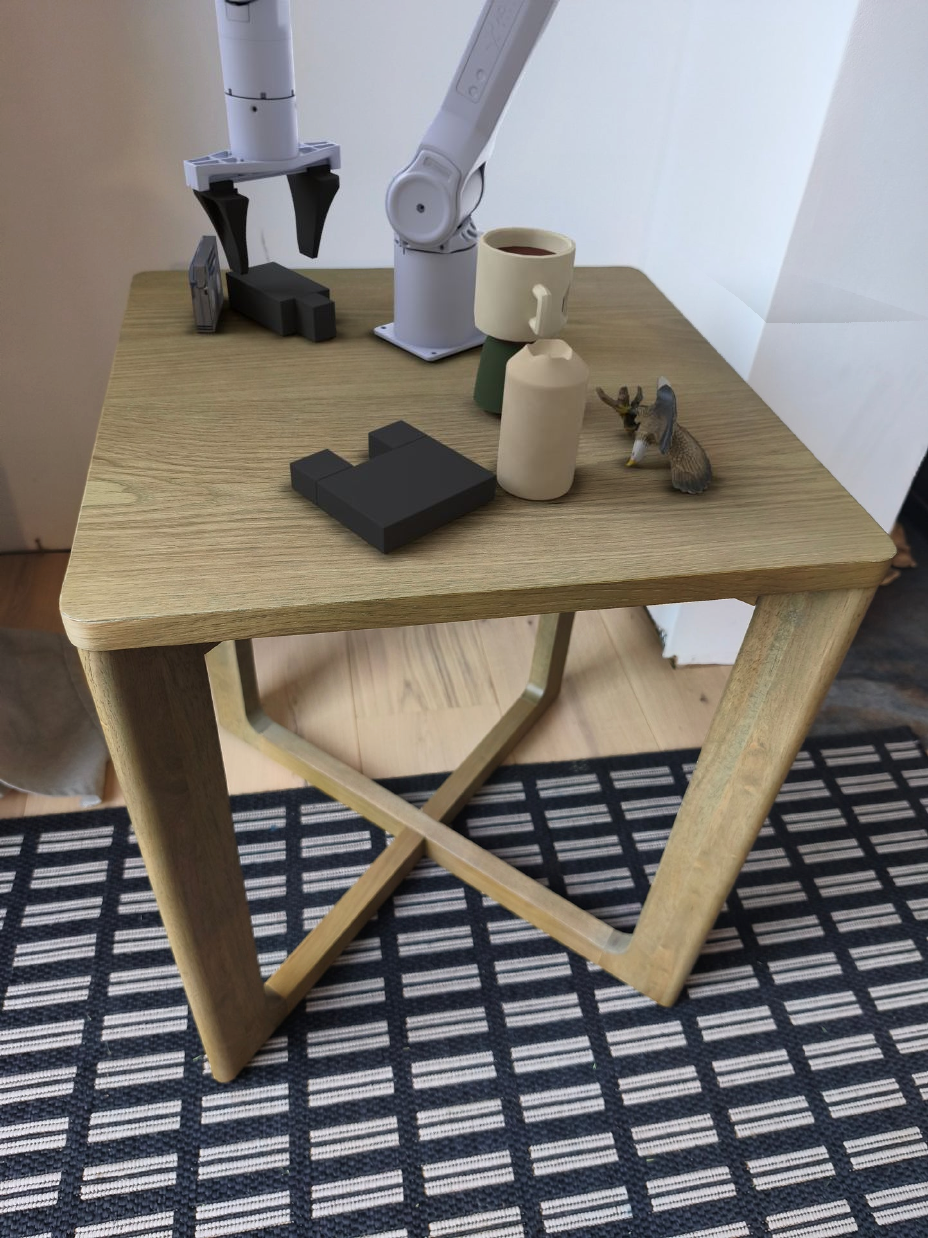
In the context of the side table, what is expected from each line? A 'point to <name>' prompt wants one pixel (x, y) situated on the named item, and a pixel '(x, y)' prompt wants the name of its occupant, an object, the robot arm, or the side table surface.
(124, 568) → the side table surface
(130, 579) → the side table surface
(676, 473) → the eagle figurine
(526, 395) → the beige bottle vase
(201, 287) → the mini dv tape
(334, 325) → the black t-shaped block
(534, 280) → the character mug
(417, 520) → the base pad
